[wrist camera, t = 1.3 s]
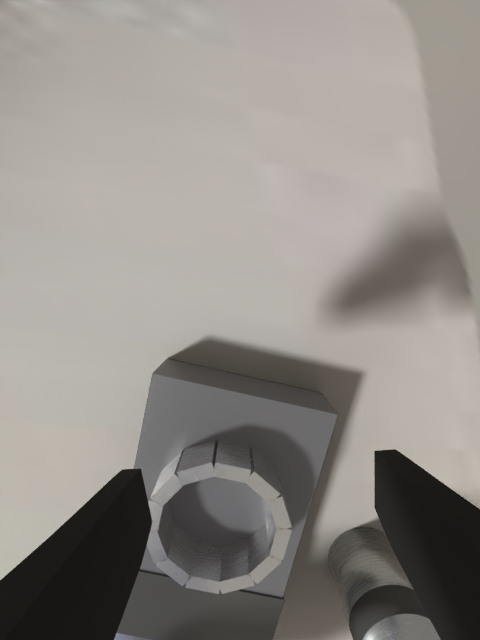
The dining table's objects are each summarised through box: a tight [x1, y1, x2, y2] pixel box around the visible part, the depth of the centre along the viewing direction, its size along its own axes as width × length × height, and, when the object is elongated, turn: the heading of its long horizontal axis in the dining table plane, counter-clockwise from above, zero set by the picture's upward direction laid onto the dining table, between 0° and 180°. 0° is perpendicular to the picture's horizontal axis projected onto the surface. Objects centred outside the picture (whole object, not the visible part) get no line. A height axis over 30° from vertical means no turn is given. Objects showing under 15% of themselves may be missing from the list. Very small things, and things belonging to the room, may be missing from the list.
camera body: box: [117, 359, 338, 640], centre depth 17 cm, size 18×11×5 cm, turn 167°
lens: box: [329, 527, 441, 640], centre depth 17 cm, size 5×5×6 cm
